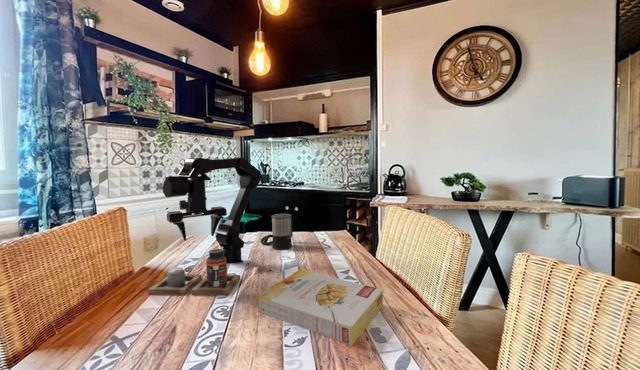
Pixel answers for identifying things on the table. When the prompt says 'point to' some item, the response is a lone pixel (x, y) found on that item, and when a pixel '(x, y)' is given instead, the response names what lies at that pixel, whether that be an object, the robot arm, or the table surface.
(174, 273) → the seated grey knob
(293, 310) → the cereal box
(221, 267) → the supplement bottle
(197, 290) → the walnut twin holder
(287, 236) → the milk frother
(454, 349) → the table surface
